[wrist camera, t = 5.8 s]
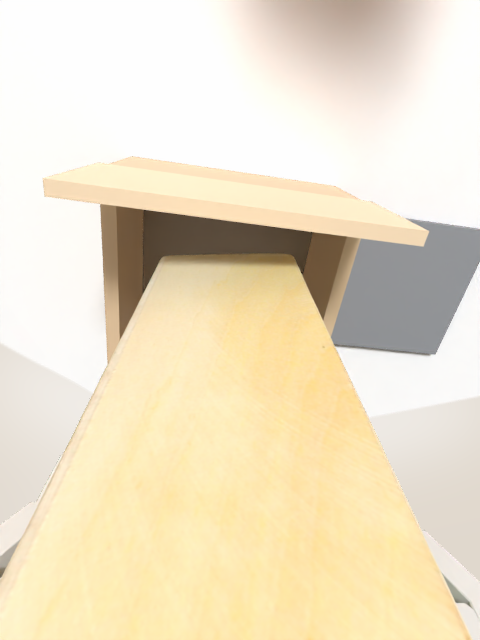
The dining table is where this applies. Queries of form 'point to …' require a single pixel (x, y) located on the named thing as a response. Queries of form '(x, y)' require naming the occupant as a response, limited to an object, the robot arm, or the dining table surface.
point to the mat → (407, 290)
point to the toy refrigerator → (225, 484)
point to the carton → (223, 204)
